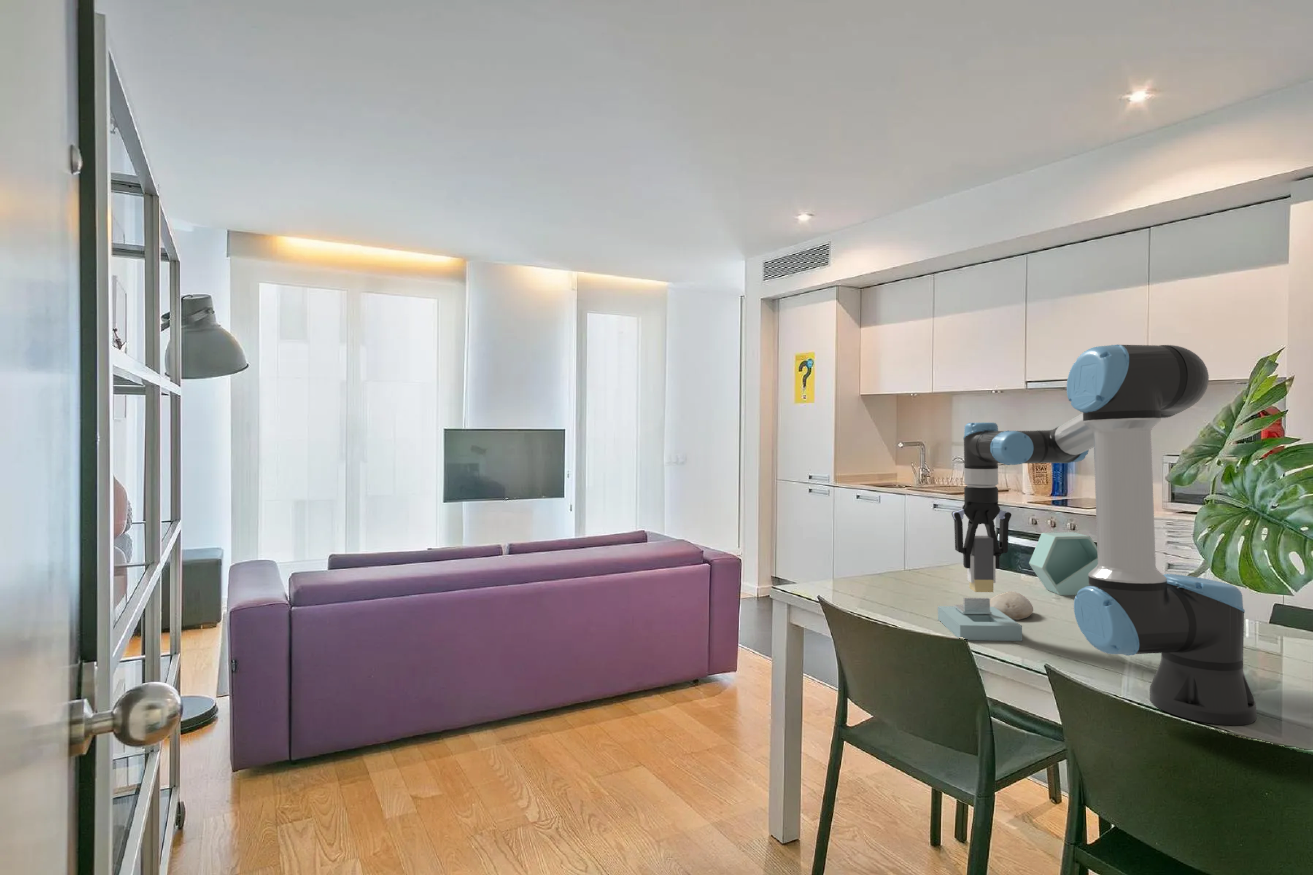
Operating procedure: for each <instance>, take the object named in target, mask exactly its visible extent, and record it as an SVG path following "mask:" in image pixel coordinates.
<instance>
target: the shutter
mask: <svg viewBox="0 0 1313 875" xmlns="http://www.w3.org/2000/svg"><path fill="white" fill-rule="evenodd" d="M990 599H991V598H989V597H963V600H962V601H963V603H962V604H954V605H953V606H954V607H955V608H956V609H958V610H959V611H960V612H961V613H963V614H992V612H991V611H990Z"/></svg>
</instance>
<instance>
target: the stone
mask: <svg viewBox="0 0 1313 875" xmlns="http://www.w3.org/2000/svg"><path fill="white" fill-rule="evenodd" d="M989 599H990V607H995V608H996V609H998V610H999V611H1001V612H1002V613H1004V614H1005V615H1007V616H1008V617H1009V618H1011V619H1012V620H1014V621H1020V620H1024V619H1026V618H1028V617H1030V616H1031V615H1032V614H1033V613H1034V606H1033V604H1032V602H1030V600H1029V599H1028V598H1027V597H1026V596H1025V595H1023V594H1021V593H1019V592H1017V591H1013V590H1009V591H1007V592H1002V593H999V594H997V595H995V596H992V597H991V598H989Z"/></svg>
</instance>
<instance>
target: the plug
mask: <svg viewBox="0 0 1313 875" xmlns="http://www.w3.org/2000/svg"><path fill="white" fill-rule="evenodd" d="M971 555H973V556H974V583H971V582H969V581H968V582H969V587H968V588H969V589H970V590H972V591H973V592H975V593H994V583H993V538H991V537H988V535H975V538H974V542H973V547H972V551H971Z"/></svg>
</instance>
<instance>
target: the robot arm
mask: <svg viewBox="0 0 1313 875" xmlns="http://www.w3.org/2000/svg"><path fill="white" fill-rule="evenodd" d="M1209 377H1210V375H1209V371H1208V368H1207V366H1206V364H1205V362H1204V360H1203V359H1202V358H1201V357H1200V356H1199V355H1198V354H1196V352H1194V351H1192V350H1190V349H1188V348H1186V347H1183V346H1179V345H1174V344H1159V345H1156V344H1155V345H1153V344H1152V345H1149V344H1147V345H1146V344H1111V345H1101V346H1100V345H1097V346H1094V347H1093V346H1092V347H1090V348H1088V349H1086V350H1085V351H1084V352H1082V353H1081V354H1080V355H1079V356H1078V357H1077V358H1076V360H1075V361H1074V363H1072V366H1071V368H1070V370H1069V372H1068V376H1067V380H1066V395H1067V396H1066V397H1067V399H1068V401H1069V402H1070V405H1071V406H1072V408H1074V409H1075V410H1077V411H1079V412H1080V414H1078V415H1077V416H1075V417H1073V418H1071V419H1069V420H1067V421H1065V422H1064V423H1062V424H1061V425H1059V426H1056V427H1055V428H1053V429H1046V430H1044V429H1043V430H1040V429H1039V430H999V426H998V424H997V423H996V422H990V421H989V422H968V423H966V424H965V425H964V431H963V434H964V436H963V458H964V460H963V461H964V463H963V464H964V468H963V469H964V471H963V472H964V474H963V475H964V476H963V477H964V481H963V482H964V484H965V485H966V486H965V487H964V488H963V489H964V490H963V494H964V495H963V498H964V499H963V500H964V501H963V502H964V503H963V504H964V505H963V506H962V509H960V510H957V511H952V512H951V516H952V519H953V523H954V524H953V525H954V550H955V551H956V552H958V553H960V554H962V555H963V556H962V557H963V559H962V560H963V561H962V562H963V567H964V568H965V569H967V570H966V571H967V575H966V576H967V580H966V581H968V582H971V583H974V556H973V555H971V551H972V547H973V542H974V538H975V536H976V533H977V529H978V527H979V526H980V525H982V524H983V525H984V527H985V530H986V534H987V535H986V536H988V537H991V538H993V584H996V572H997V571H996V569H999V568H1000V556H1001V555H1002V554H1007V553H1008V551H1009V526H1010V525H1009V523H1010V520H1011V517H1012V513H1011V512H1009V511H1006V510H1002V509H1001V508H1000V506H999V488H998V487H997V485H999V464H1002V465H1007V466H1010V465H1011V466H1015V465H1017V466H1018V465H1022V464H1058V463H1059V464H1070V463H1080V462H1081V461H1083V460H1084V459H1085V458H1086V456H1087V455H1088V453H1089V452H1090V450H1091V449H1093V460H1094V462H1093V463H1094V490H1095V491H1094V492H1095V514H1096V515H1095V518H1096V520H1095V521H1096V544H1097V545H1096V546H1097V553H1098V565H1097V566H1096V567H1095V568H1094V569H1093V570H1092V571H1091V572H1089V574H1088V579H1089V586H1086V587H1084V588H1082V589H1080V590H1079V591H1078V593H1077V595H1074V596H1075V597H1074V600H1073V612H1074V617H1075V621H1076V623H1077V625H1078V628H1079V630H1080V632H1081V634H1082V635H1083V636H1084V637H1085V639H1086V640H1087V642H1088V643H1089V644H1090V645H1091V646H1093V647H1094V648H1095V649H1097V650H1098V651H1100V652H1102V653H1105V654H1108V655H1123V656H1129V657H1130V656H1135V655H1143V654H1144V655H1145V654H1146V655H1147V654H1160V656H1161V657H1160V662H1159V664H1158V666H1157V669H1156V671H1155V674H1154V676H1153V677H1152V681H1151V684H1150V687H1149V701H1150V703H1151V704H1152V705H1154V706H1155V707H1156V708H1158V709H1160V710H1162V711H1164V712H1167V713H1169V714H1172V715H1174V716H1177V717H1180V718H1184V719H1187V720H1192V721H1194V722H1195V721H1196V722H1200V723H1206V724H1207V723H1208V724H1212V725H1213V724H1214V725H1221V726H1222V725H1223V726H1243V725H1249V724H1252V723H1254V722H1256V720H1257V718H1258V717H1257V712H1258V711H1257V704H1256V703H1257V702H1256V701H1255V699H1254V695H1253V693H1252V690H1251V688H1250V685H1249V683H1248V680H1247V678H1246V675H1245V672H1244V638H1245V637H1244V632H1245V631H1244V630H1245V629H1244V628H1245V627H1244V624H1245V621H1244V620H1245V612H1246V611H1245V609H1244V600H1243V593H1242V591H1241V590H1240V589H1239V588H1238V587H1236V586H1235V585H1232V584H1229V583H1226V582H1222V581H1217V580H1213V579H1209V578H1203V577H1197V576H1190V575H1184V574H1177V573H1176V574H1174V573H1165V574H1163V573H1162V572H1161V571H1160V570H1158V569H1157V564H1156V562H1157V561H1156V537H1155V536H1156V535H1155V510H1154V485H1153V484H1154V481H1153V480H1154V478H1153V475H1154V474H1153V452H1152V450H1153V449H1152V447H1153V446H1152V430H1153V428H1155V426H1157V425H1158V424H1159V423H1160V422H1161V421H1162V419H1166V418H1171V417H1173V416H1176V415H1177V414H1180V413H1182V412H1184V411H1186V410H1188V409H1189V408H1192V406H1193V407H1194V405H1195V404H1197V403H1198V402H1199V401H1200V400H1201V399H1202V398H1203V396H1204V395H1205V394H1206V391H1207V390H1208V386H1209V381H1210V380H1209ZM964 515H965V517H966V518H967V519H968V522H967V528H966V529H967V531H966V534H965V539H964V528H963V520H964ZM997 516H998V518H999V531H998V532H999V534H998V537H999V538H997V533H996V529H995V528H996V527H995V519H996V518H997Z"/></svg>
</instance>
